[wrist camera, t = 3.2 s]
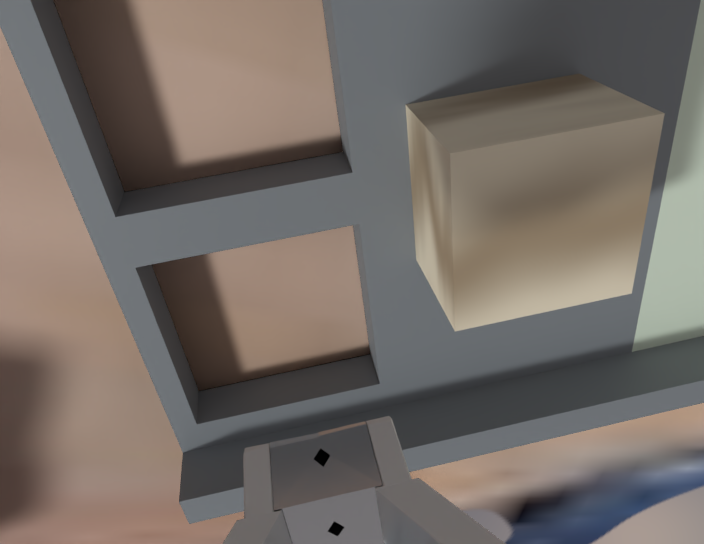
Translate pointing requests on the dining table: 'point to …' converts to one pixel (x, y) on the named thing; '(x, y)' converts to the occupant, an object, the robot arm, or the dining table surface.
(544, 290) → the block
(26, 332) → the dining table surface
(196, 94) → the dining table surface
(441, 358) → the box
